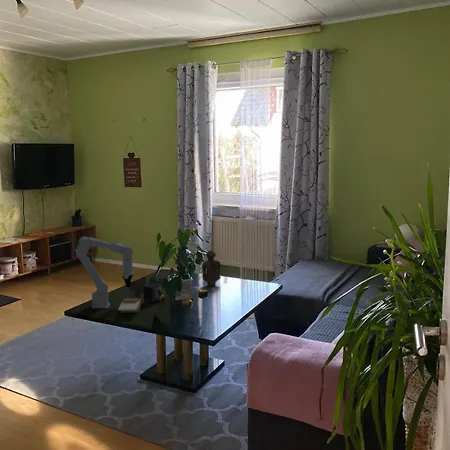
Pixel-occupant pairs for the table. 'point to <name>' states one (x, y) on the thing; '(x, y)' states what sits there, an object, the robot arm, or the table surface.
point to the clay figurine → (211, 269)
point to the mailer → (134, 310)
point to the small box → (152, 292)
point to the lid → (129, 305)
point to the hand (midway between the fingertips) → (128, 287)
